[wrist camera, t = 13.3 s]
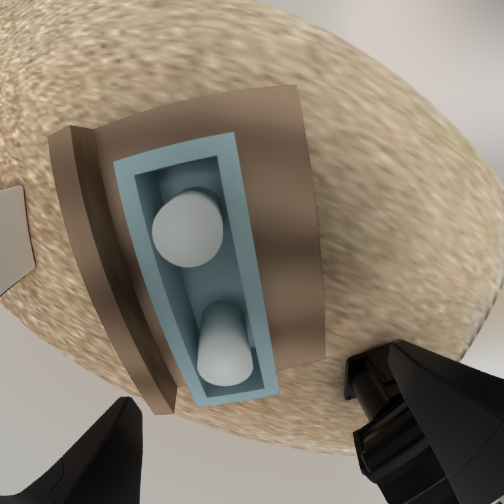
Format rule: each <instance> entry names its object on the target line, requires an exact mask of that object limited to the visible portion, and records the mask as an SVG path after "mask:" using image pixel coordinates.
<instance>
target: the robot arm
mask: <svg viewBox="0 0 504 504" xmlns="http://www.w3.org/2000/svg"><path fill="white" fill-rule="evenodd" d="M356 397H357V399H358V401H359V403H360V405H361V407H362V409H363V410H364V412H365V414H366V416H367V418H368V420H369V423H368V424H366V425H365V426H363V427H362V428H361V429H359V430H356V431H355V432H353V436H354V443H355V448H356V452H357V456H358V460H359V466H360V469H361V472H362V474H363V475H365V476H366V477H367V478H368V479H369V480H370V481H372V482H373V483H375V484H377V485H378V486H379V488H380V490H381V491H382V493H383V495H384V497H385V499H386V501H387V502H388V504H491V503H492V502H494V501H496V500H497V499H500V500H499V501H498V502H497V503H496V504H504V379H502V378H499V377H496V376H493V375H490V374H488V373H485V372H481V371H480V370H477V369H474V368H472V367H469V366H467V365H464V364H462V363H459V362H457V361H454V360H452V359H449V358H447V357H444V356H442V355H439V354H437V353H434V352H432V351H429V350H427V349H424V348H422V347H419V346H417V345H415V344H412V343H410V342H407V341H405V340H398V341H396V342H393V343H391V344H389V345H386V346H383V347H381V348H378V349H375V350H372V351H369V352H367V353H364V354H361V355H358V356H355V357H352V358H350V359H348V361H347V366H346V379H345V391H344V398H345V400H351V399H354V398H356ZM142 433H143V432H142V412H141V410H140V409H139V407H138V406H137V404H136V403H135V402H134V400H133V399H132V398H131V397H120V398H118V399H117V400H116V402H115V403H114V404H113V405H112V406H111V407H110V408H109V409H108V410H107V411H106V412H105V413H104V414H103V415H102V416H101V417H100V418H99V419H98V420H97V421H96V422H95V423H94V424H93V425H92V426H91V427H90V428H89V429H88V430H87V432H85V433H84V435H82V437H81V438H80V439H79V440H78V441H77V442H76V443H75V444H74V445H73V446H72V447H71V448H70V449H69V450H68V451H67V452H66V453H65V454H64V455H63V457H61V458H60V459H59V460H58V461H57V462H56V463H55V464H54V465H53V466H52V467H51V468H50V469H49V470H48V471H47V472H45V473H44V474H43V475H42V476H41V477H39V478H38V479H37V480H36V481H34V482H33V483H32V484H31V485H29V486H28V487H27V488H26V489H24V490H23V491H22V492H20V493H18V494H15V495H10V496H0V504H139V503H140V481H141V468H142V455H143V437H142V436H143V434H142Z"/></svg>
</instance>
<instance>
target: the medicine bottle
mask: <svg viewBox="0 0 504 504" xmlns="http://www.w3.org/2000/svg"><path fill="white" fill-rule="evenodd" d="M34 269H35V262H34V258H33V253H32V248H31V243H30V237H29V232H28V225H27V219H26V211H25V202H24V192H23V187H22V186H20V185H18V186H14V187H10V188H6V189H2V190H0V296H2V295H3V294H4V293H5V292H6V291H8V290H9V289H10V288H11V287H13V286H14V285H15V284H16V283H18V282H19V281H20V280H21V279H23V278H24V277H25V276H27V275H28V274H29V273H31V272H32V271H33V270H34Z"/></svg>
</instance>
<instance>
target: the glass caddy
mask: <svg viewBox="0 0 504 504" xmlns="http://www.w3.org/2000/svg"><path fill="white" fill-rule="evenodd" d="M113 164H114V169H115V174H116V179H117V184H118V188H119V193H120V197H121V201H122V205H123V210H124V214H125V217H126V221H127V225H128V229H129V232H130V236H131V239H132V243H133V246H134V250H135V253H136V256H137V260H138V263H139V266H140V269H141V272H142V275H143V278H144V281H145V284H146V287H147V290H148V293H149V296H150V298H151V301H152V304H153V307H154V309H155V312H156V314H157V317H158V320H159V322H160V325H161V327H162V330H163V332H164V335H165V337H166V340H167V342H168V344H169V347H170V349H171V351H172V354H173V356H174V358H175V360H176V363H177V365H178V367H179V369H180V371H181V374H182V376H183V378H184V380H185V382H186V384H187V386H188V388H189V390H190V392H191V394H192V396H193V398H194V400H195V402H196V404H197V406H198V407H203V406H211V405H219V404H226V403H233V402H240V401H246V400H251V399H257V398H262V397H267V396H272V395H277V394H280V392H279V386H278V380H277V374H276V369H275V363H274V357H273V351H272V345H271V340H270V334H269V328H268V322H267V316H266V311H265V305H264V299H263V293H262V288H261V282H260V276H259V270H258V265H257V259H256V253H255V248H254V242H253V236H252V230H251V225H250V219H249V213H248V208H247V202H246V196H245V191H244V185H243V180H242V174H241V168H240V163H239V157H238V152H237V146H236V140H235V135H234V132H230V133H224V134H219V135H214V136H209V137H204V138H199V139H195V140H190V141H186V142H181V143H177V144H173V145H169V146H165V147H161V148H158V149H154V150H150V151H147V152H143V153H140V154H136V155H133V156H130V157H127V158H123V159H120V160H117V161H114V162H113Z"/></svg>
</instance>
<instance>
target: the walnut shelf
mask: <svg viewBox="0 0 504 504" xmlns="http://www.w3.org/2000/svg"><path fill="white" fill-rule="evenodd" d="M230 132H234V135H235V140H236V146H237V152H238V157H239V163H240V168H241V174H242V180H243V185H244V191H245V196H246V202H247V208H248V213H249V219H250V225H251V230H252V236H253V242H254V248H255V253H256V259H257V265H258V270H259V276H260V282H261V288H262V293H263V299H264V305H265V311H266V316H267V322H268V328H269V334H270V340H271V345H272V351H273V357H274V363H275V369H276V371H279V370H284V369H288V368H292V367H296V366H300V365H304V364H308V363H312V362H316V361H319V360H323V359H326V348H325V315H324V295H323V279H322V265H321V252H320V241H319V231H318V221H317V212H316V203H315V195H314V187H313V180H312V173H311V166H310V159H309V152H308V146H307V140H306V134H305V128H304V122H303V117H302V112H301V106H300V101H299V96H298V91H297V86H296V85H286V86H274V87H264V88H255V89H247V90H240V91H233V92H227V93H221V94H216V95H210V96H205V97H200V98H196V99H191V100H187V101H182V102H178V103H174V104H170V105H166V106H163V107H159V108H155V109H152V110H149V111H145V112H142V113H139V114H136V115H132V116H129V117H126V118H123V119H121V120H118V121H115V122H112V123H109V124H107V125H104V126H101V127H99V128H96V129H94V130H93V129H88V128H83V127H77V126H71V125H69V126H67V127H65V128H63V129H61V130H59V131H57V132H55V133H53V134H51V135H49V136H48V144H49V151H50V158H51V164H52V170H53V175H54V181H55V185H56V190H57V195H58V199H59V203H60V207H61V211H62V215H63V219H64V223H65V226H66V230H67V233H68V236H69V240H70V243H71V246H72V249H73V252H74V255H75V258H76V261H77V264H78V267H79V270H80V272H81V275H82V278H83V280H84V283H85V285H86V288H87V290H88V293H89V295H90V298H91V300H92V302H93V305H94V307H95V309H96V311H97V314H98V316H99V318H100V320H101V322H102V325H103V327H104V329H105V331H106V333H107V335H108V337H109V339H110V341H111V343H112V345H113V347H114V349H115V350H116V352H117V354H118V356H119V358H120V360H121V361H122V363H123V365H124V367H125V369H126V370H127V372H128V374H129V375H130V377H131V379H132V380H133V382H134V384H135V385H136V387H137V389H138V390H139V392H140V393H141V395H142V396H143V398H144V400H145V401H146V403H147V404H148V406H149V407H150V408H151V410H152V411H153V413H154V414H155V415H166V414H174V409H175V401H176V393H177V387H182V386H187V384H186V382H185V380H184V378H183V376H182V374H181V371H180V369H179V367H178V365H177V363H176V360H175V358H174V356H173V354H172V351H171V349H170V347H169V344H168V342H167V340H166V337H165V335H164V332H163V330H162V327H161V325H160V322H159V320H158V317H157V314H156V312H155V309H154V307H153V304H152V301H151V298H150V296H149V293H148V290H147V287H146V284H145V281H144V278H143V275H142V272H141V269H140V266H139V263H138V260H137V256H136V253H135V250H134V246H133V243H132V239H131V236H130V232H129V229H128V225H127V221H126V217H125V214H124V210H123V205H122V201H121V197H120V193H119V188H118V184H117V179H116V174H115V169H114V164H113V162H114V161H117V160H120V159H123V158H127V157H130V156H133V155H136V154H140V153H143V152H147V151H150V150H154V149H158V148H161V147H165V146H169V145H173V144H177V143H181V142H186V141H190V140H195V139H199V138H204V137H209V136H214V135H219V134H224V133H230Z"/></svg>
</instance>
